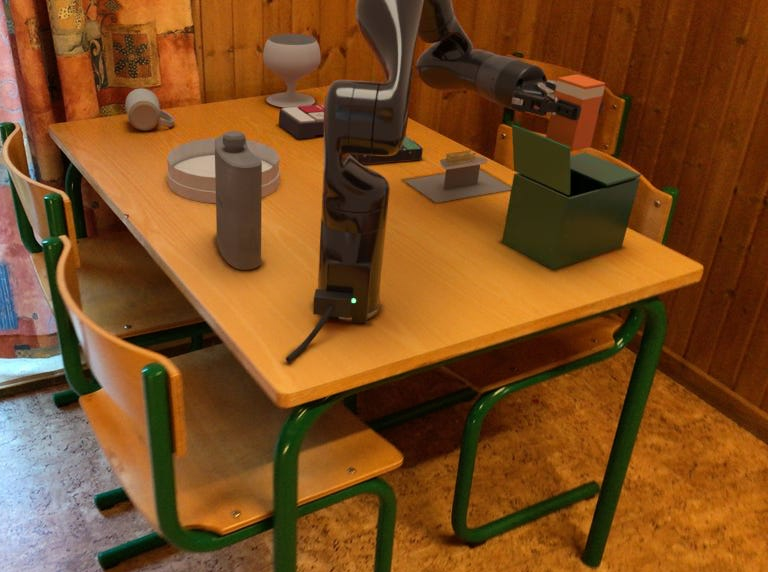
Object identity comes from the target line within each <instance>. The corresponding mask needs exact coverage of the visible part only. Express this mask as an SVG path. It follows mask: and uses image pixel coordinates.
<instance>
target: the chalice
mask: <svg viewBox="0 0 768 572" xmlns="http://www.w3.org/2000/svg"><path fill="white" fill-rule="evenodd" d="M262 53H263V54H262V61H263V65H264V66H265V68H267V69H266V70H268V71H270V72H271V73H273V74H274V75H276V76H278V77H279V78H281V79H282V80H283V81H284V82H285V83H286V87H287V88H286V91H285V92H277V93H274V94H271V95H269V96H267V97H266V100H265V101H266V102H267V103H268V104H270V105H272V106H275V107H279V108H293V107H296V108H298V107H299V106H311V105H315V103H316V99H315V98H314V97H313V96H311V95H309V94H305V93H301V92H296V89H295V88H296V85H297V83H298V82H299V81H300V80H301V79H303V78H305V77H306V76H309V75H311V74H312V73H314V72H315V71H316V70H317V69H318V68H319V67H320V64H321V59H322V56H321V55H322V54H321V49H320V45H319V43H318V40H317V38H315V37H314V36H311V35H308V34H302V33H301V34H300V33H281V34H280V33H278V34H274V35H271V36H269V37H268V39H267V40H266V42H265V44H264V48H263V52H262Z"/></svg>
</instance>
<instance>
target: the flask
mask: <svg viewBox="0 0 768 572" xmlns="http://www.w3.org/2000/svg"><path fill="white" fill-rule="evenodd" d="M215 138H216V140H215V183H216V203H215V212H216V213H215V219H216V222H215V223H216V245H217V249H218V251H219V253H220V255H221V256H222V258H223V259H224V260H225V261H226V262H227V264H229V266H232V267H233V268H234V269H237V270H240V271H251V270H255V269H257V268H259V267H260V266H261V264H262V199H263V197H262V162H261V160H260V159H259V158H258V157H256V156H255V155H254V154H253V153H251V151H250V150H249V148H248V146H247V140H248V139H247V138H246V135H245V133H243V132H242V131H238V130H230V131H229V130H228V131H226V132H225V133H224V134H222V135H221V134H220V135H219V136H218V137H215Z"/></svg>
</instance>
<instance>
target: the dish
mask: <svg viewBox="0 0 768 572" xmlns="http://www.w3.org/2000/svg"><path fill="white" fill-rule="evenodd" d="M216 138H217V137H210V138H201V139H196V140H192V141H188V142H184V143H182V144H179V145H177V146H175V147H174V148H172V149H171V150H170V151H169V152H168V154H167V157H166V161H167V172H166V177H167V186H168V187H169V188H170V190H171V191H172V192H174V193H175V194H176V195H177V196H180V197H183V198H185V199H187V200H192V201H195V202H200V203H207V204H216V183H215V140H216ZM246 140H247V146H248V148H249V150H250V151H251V153H253V154H254V155H255V156H256V157H258V158H259V159H260V160H261V162H262V198H265V197H267V196H269V195H271V194H273V193H274V192H275V191H276V190H278V188H279V186H280V184H281V172H280V155H279V152H277V151H276V150H275V148H273V147H272V146H269V145H268V144H265V143H262V142H258V141H255V140H251V139H246Z"/></svg>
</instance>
